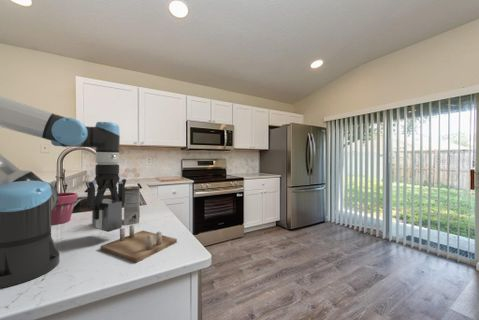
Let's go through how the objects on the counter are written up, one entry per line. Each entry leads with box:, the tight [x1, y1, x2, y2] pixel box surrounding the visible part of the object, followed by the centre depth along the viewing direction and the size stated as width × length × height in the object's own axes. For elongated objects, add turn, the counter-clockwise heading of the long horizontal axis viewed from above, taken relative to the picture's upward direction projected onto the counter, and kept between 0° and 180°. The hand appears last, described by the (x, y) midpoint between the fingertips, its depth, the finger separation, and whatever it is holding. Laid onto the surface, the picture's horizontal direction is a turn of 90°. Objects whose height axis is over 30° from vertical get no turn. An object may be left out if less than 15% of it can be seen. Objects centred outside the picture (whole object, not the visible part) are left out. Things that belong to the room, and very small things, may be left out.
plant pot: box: [51, 192, 78, 226], centre depth 94 cm, size 14×14×13 cm
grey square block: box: [91, 198, 123, 233], centre depth 76 cm, size 5×10×10 cm, turn 63°
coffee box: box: [123, 185, 141, 226], centre depth 96 cm, size 9×6×16 cm
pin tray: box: [99, 224, 178, 264], centre depth 70 cm, size 16×18×5 cm
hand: (106, 225), depth 76 cm, fingers closed on grey square block, 5 cm apart
